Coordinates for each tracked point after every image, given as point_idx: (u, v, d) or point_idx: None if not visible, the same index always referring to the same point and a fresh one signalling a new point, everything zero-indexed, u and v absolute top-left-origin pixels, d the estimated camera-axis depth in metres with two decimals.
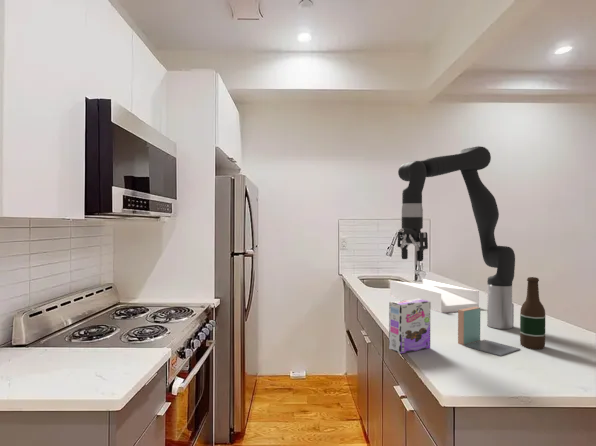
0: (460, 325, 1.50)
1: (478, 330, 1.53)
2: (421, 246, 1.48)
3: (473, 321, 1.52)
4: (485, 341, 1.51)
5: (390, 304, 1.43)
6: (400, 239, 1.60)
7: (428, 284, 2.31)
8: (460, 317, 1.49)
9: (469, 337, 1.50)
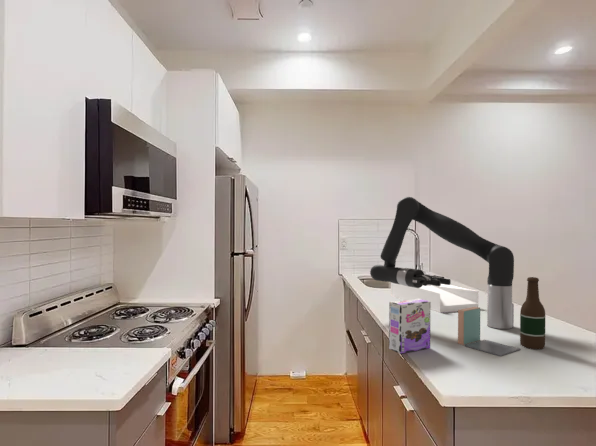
0: (460, 325, 1.50)
1: (478, 330, 1.53)
2: (424, 285, 1.62)
3: (473, 321, 1.52)
4: (485, 341, 1.51)
5: (390, 304, 1.43)
6: None
7: None
8: (460, 317, 1.49)
9: (469, 337, 1.50)
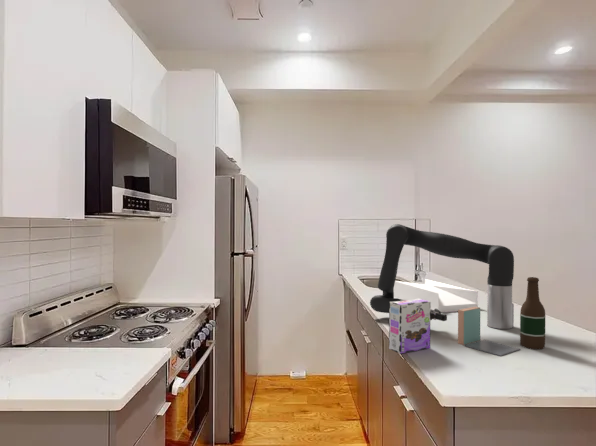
0: (460, 325, 1.50)
1: (478, 330, 1.53)
2: None
3: (473, 321, 1.52)
4: (485, 341, 1.51)
5: (390, 304, 1.43)
6: None
7: (429, 284, 2.31)
8: (460, 317, 1.49)
9: (469, 337, 1.50)
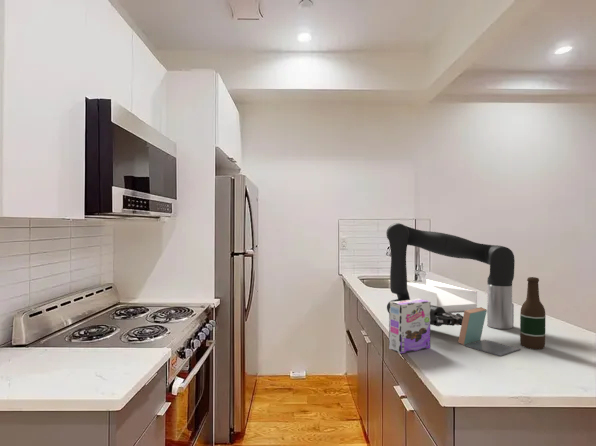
0: (463, 326, 1.48)
1: (480, 331, 1.53)
2: None
3: (477, 323, 1.50)
4: (485, 341, 1.51)
5: (390, 304, 1.43)
6: None
7: (429, 284, 2.31)
8: (465, 318, 1.48)
9: (470, 338, 1.50)
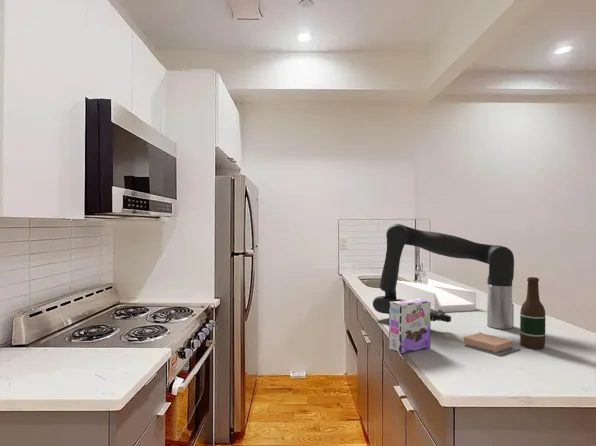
0: (480, 344, 1.43)
1: None
2: None
3: None
4: None
5: (390, 304, 1.43)
6: None
7: (429, 284, 2.31)
8: (488, 346, 1.41)
9: None
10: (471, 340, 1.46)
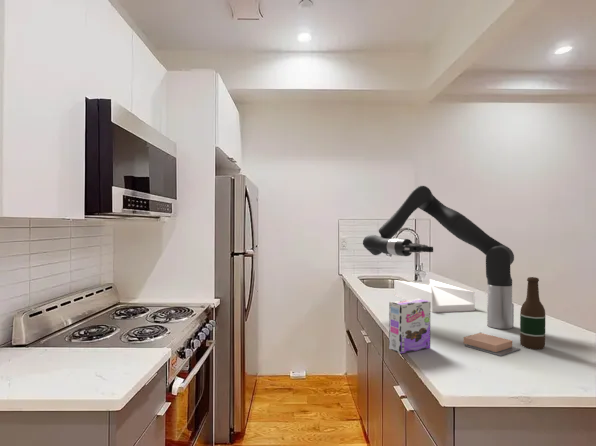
0: (480, 344, 1.43)
1: None
2: (417, 251, 1.73)
3: None
4: None
5: (390, 304, 1.43)
6: None
7: (430, 284, 2.31)
8: (488, 346, 1.41)
9: None
10: (471, 340, 1.46)
